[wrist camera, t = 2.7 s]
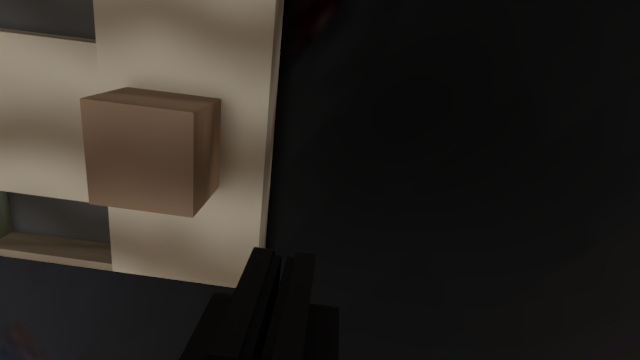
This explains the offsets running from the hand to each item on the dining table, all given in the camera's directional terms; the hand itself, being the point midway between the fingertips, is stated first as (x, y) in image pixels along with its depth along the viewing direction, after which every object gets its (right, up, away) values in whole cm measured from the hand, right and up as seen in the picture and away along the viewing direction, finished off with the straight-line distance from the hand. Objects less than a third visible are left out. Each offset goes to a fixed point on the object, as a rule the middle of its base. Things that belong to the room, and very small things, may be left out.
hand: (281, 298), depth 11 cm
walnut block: (-7, +5, +11) cm, 14 cm away
